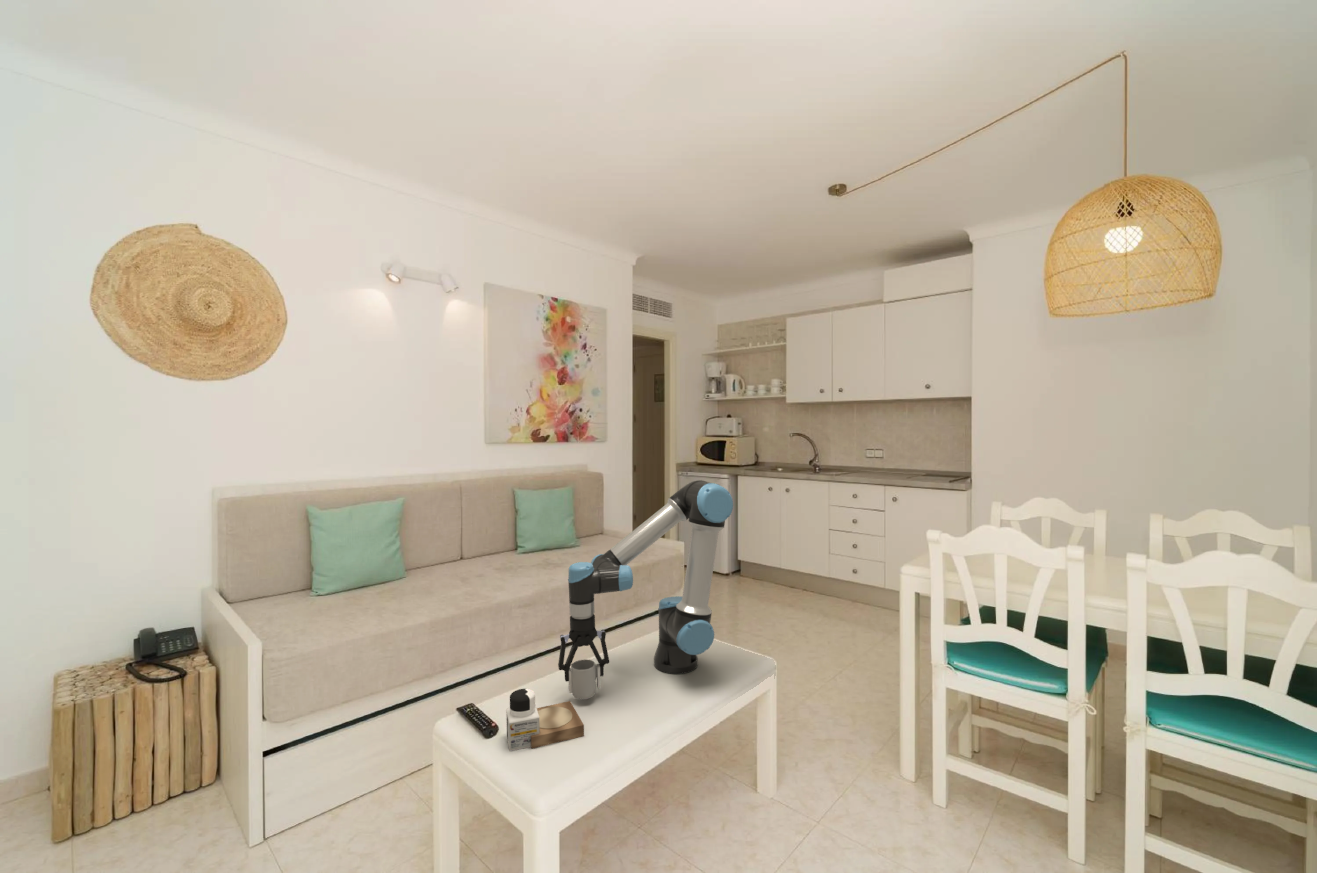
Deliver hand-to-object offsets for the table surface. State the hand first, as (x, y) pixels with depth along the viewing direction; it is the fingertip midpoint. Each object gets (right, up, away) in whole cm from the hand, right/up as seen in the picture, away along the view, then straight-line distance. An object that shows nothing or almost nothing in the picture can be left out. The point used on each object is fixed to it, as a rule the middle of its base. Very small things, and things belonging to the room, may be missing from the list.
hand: (584, 688), depth 169 cm
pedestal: (-7, -4, -16) cm, 18 cm away
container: (-14, -4, -21) cm, 26 cm away
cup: (+1, -1, 0) cm, 1 cm away
